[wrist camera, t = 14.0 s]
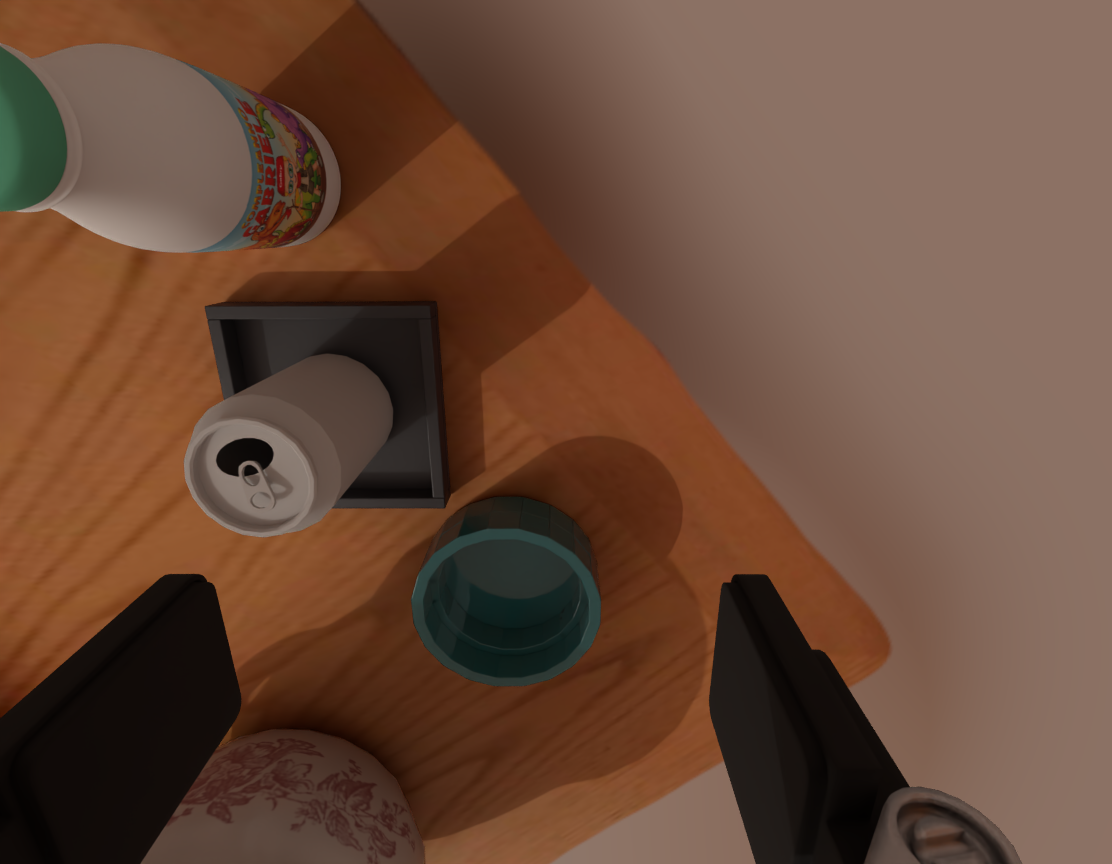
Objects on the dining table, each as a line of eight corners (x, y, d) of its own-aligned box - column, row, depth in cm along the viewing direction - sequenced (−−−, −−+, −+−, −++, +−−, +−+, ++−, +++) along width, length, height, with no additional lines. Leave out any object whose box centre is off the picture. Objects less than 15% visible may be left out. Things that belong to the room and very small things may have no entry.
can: (367, 334, 36) (281, 382, 25) (415, 439, 39) (355, 526, 28) (263, 371, 37) (134, 434, 26) (315, 471, 40) (218, 569, 28)
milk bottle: (236, 253, 35) (-130, 284, 17) (195, 114, 33) (-294, -38, 14) (358, 238, 35) (125, 250, 16) (326, 95, 32) (5, -86, 14)
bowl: (421, 493, 41) (403, 528, 36) (598, 493, 41) (603, 528, 36) (434, 638, 45) (420, 686, 40) (594, 639, 45) (598, 687, 40)
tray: (223, 301, 36) (204, 306, 34) (436, 301, 36) (429, 305, 34) (261, 495, 41) (246, 508, 39) (450, 495, 41) (445, 508, 39)
